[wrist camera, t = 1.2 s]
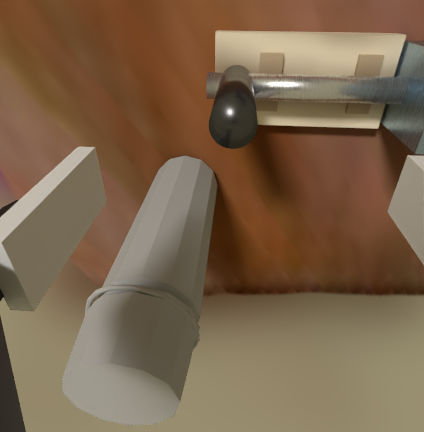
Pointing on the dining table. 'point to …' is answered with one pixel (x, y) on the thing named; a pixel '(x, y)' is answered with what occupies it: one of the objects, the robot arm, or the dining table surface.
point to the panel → (312, 70)
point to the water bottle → (148, 304)
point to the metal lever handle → (320, 97)
